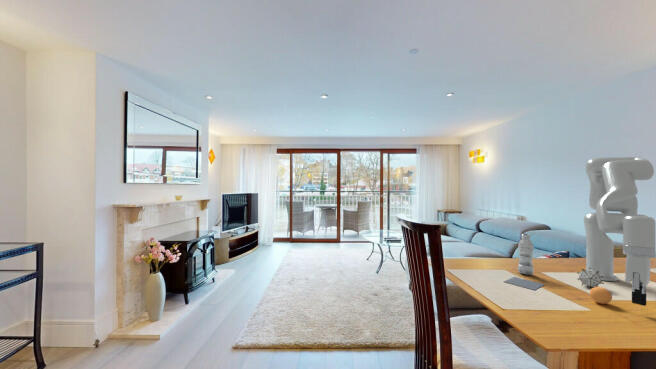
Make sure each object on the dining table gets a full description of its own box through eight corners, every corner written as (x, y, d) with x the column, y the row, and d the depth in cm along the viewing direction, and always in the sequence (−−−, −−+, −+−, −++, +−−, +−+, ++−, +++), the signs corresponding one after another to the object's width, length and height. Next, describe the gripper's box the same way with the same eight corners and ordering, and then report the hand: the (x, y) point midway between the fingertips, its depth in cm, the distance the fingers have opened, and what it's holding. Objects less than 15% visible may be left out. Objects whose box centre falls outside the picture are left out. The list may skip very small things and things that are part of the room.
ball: (591, 298, 107) (592, 283, 107) (613, 304, 102) (613, 288, 102) (587, 302, 103) (587, 286, 103) (610, 308, 98) (610, 291, 98)
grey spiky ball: (596, 296, 118) (614, 283, 112) (575, 288, 120) (592, 274, 114) (587, 281, 125) (604, 267, 120) (568, 273, 127) (583, 259, 121)
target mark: (514, 277, 132) (514, 276, 132) (545, 284, 122) (545, 284, 122) (503, 281, 125) (503, 281, 125) (534, 290, 115) (534, 289, 115)
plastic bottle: (530, 272, 139) (530, 233, 139) (535, 277, 132) (536, 236, 132) (515, 271, 141) (516, 233, 141) (520, 275, 134) (520, 235, 134)
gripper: (627, 247, 102) (627, 296, 102) (618, 251, 94) (618, 304, 93) (658, 250, 96) (658, 303, 96) (652, 256, 88) (652, 313, 87)
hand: (639, 303), depth 94 cm, fingers closed
